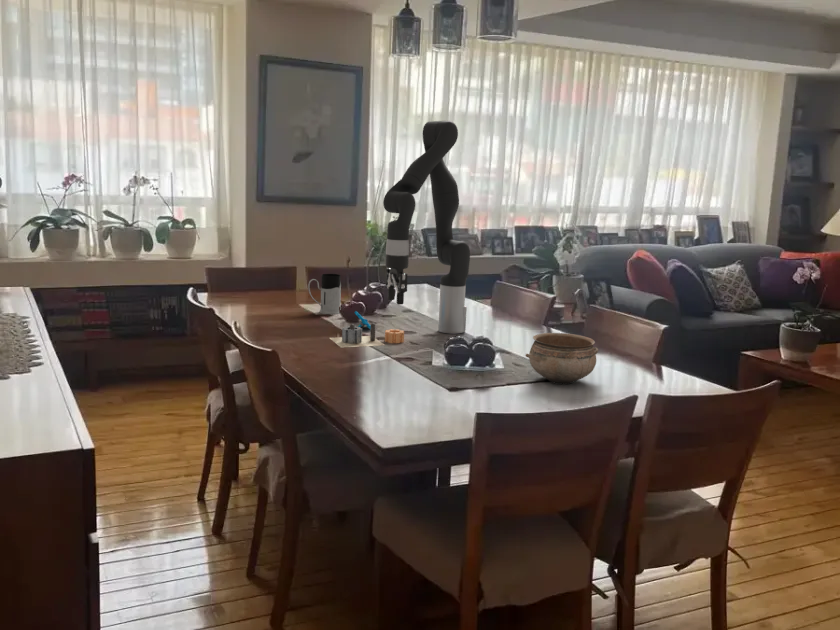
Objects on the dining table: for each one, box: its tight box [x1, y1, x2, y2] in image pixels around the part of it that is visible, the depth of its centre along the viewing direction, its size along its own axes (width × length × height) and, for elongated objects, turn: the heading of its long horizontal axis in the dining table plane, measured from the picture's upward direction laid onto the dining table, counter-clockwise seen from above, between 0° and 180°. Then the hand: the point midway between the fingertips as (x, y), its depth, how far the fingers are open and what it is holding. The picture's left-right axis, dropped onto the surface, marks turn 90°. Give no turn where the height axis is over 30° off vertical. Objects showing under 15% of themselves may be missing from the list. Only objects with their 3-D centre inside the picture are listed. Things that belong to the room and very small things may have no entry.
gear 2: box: [384, 328, 405, 344], centre depth 255 cm, size 6×6×4 cm
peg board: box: [329, 322, 385, 349], centre depth 252 cm, size 15×14×7 cm
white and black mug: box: [307, 273, 342, 315], centre depth 303 cm, size 9×14×15 cm, turn 124°
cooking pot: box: [524, 332, 599, 385], centre depth 218 cm, size 25×19×12 cm
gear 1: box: [341, 326, 363, 344], centre depth 251 cm, size 6×6×4 cm
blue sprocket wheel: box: [354, 310, 371, 330], centre depth 272 cm, size 11×6×10 cm
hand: (395, 302), depth 252 cm, fingers open, 8 cm apart
